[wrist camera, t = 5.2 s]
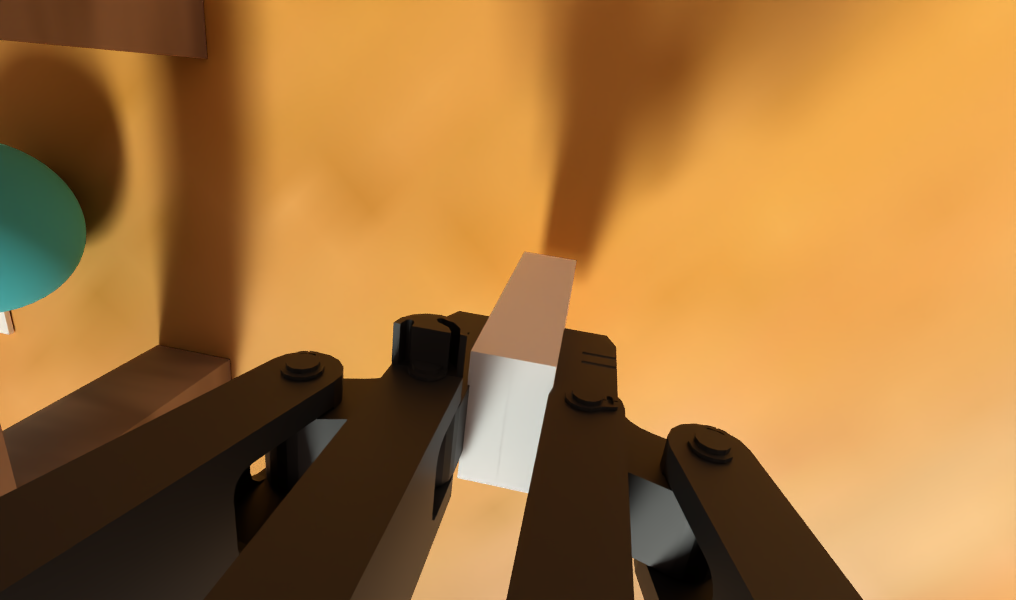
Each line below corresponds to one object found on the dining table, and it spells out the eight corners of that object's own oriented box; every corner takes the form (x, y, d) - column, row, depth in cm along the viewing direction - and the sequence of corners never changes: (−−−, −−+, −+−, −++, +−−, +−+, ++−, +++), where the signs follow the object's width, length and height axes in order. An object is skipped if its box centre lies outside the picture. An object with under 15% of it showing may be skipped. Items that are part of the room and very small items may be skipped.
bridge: (163, 389, 22) (-119, 576, 13) (111, -25, 17) (-412, -152, 8) (233, 404, 22) (-12, 605, 13) (202, -15, 16) (-244, -136, 8)
